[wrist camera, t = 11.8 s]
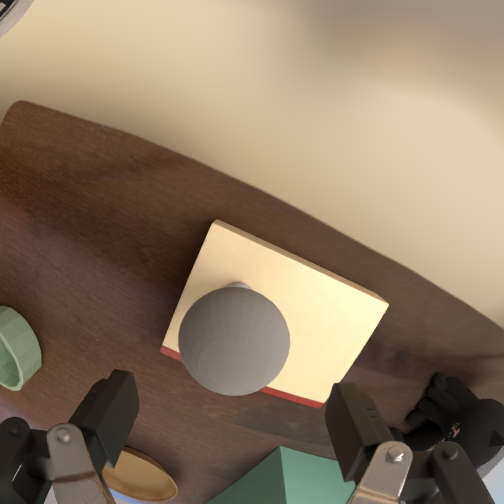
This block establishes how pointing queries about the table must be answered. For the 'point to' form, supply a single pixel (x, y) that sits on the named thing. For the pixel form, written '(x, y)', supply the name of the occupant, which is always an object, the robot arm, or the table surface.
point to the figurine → (457, 421)
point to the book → (287, 309)
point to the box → (289, 481)
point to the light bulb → (234, 340)
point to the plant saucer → (140, 477)
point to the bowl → (17, 350)
